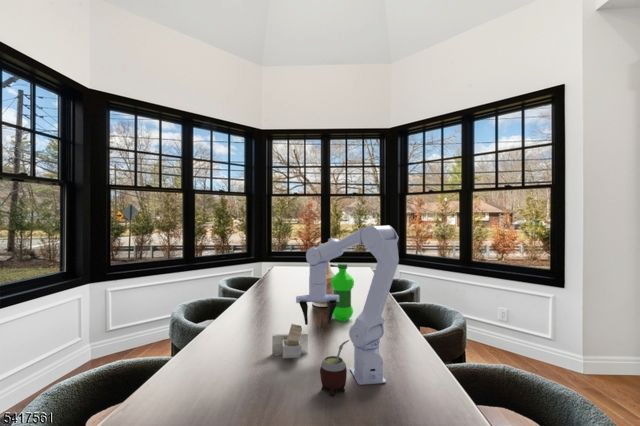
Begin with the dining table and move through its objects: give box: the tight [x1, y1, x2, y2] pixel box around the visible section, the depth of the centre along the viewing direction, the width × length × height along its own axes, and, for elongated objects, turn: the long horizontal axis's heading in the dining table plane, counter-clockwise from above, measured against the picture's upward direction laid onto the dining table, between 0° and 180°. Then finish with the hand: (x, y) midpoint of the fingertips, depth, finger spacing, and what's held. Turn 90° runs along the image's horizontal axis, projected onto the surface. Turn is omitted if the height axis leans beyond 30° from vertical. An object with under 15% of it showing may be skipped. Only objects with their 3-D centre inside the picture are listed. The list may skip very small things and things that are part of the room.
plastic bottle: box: [330, 263, 355, 322], centre depth 145 cm, size 10×10×25 cm
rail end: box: [285, 323, 303, 346], centre depth 103 cm, size 3×3×8 cm
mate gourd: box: [319, 339, 350, 398], centre depth 85 cm, size 8×8×15 cm
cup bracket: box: [271, 332, 309, 359], centre depth 104 cm, size 8×12×6 cm
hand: (317, 323), depth 107 cm, fingers open, 7 cm apart
